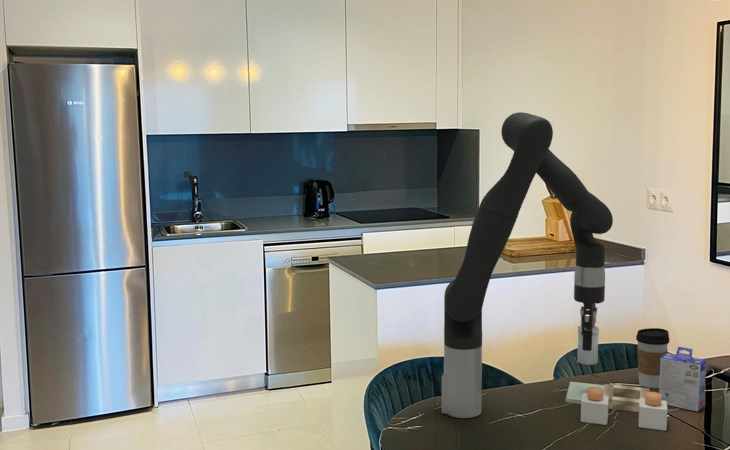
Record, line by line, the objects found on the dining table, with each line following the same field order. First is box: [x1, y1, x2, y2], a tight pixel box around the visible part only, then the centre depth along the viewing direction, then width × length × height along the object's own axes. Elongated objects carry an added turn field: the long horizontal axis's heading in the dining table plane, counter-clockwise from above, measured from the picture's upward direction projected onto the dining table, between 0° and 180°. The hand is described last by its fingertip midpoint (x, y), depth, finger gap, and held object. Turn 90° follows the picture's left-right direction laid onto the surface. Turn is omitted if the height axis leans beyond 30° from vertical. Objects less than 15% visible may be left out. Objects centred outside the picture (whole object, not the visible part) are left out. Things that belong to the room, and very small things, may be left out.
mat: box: [565, 381, 605, 405], centre depth 193 cm, size 9×13×1 cm
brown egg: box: [645, 391, 662, 406], centre depth 174 cm, size 4×4×6 cm
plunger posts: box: [580, 393, 668, 431], centre depth 176 cm, size 19×7×5 cm, turn 70°
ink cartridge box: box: [658, 346, 707, 412], centre depth 185 cm, size 10×6×14 cm, turn 53°
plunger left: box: [587, 387, 603, 400], centre depth 177 cm, size 4×4×6 cm
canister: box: [577, 325, 600, 366], centre depth 191 cm, size 5×5×10 cm
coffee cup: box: [635, 327, 670, 389], centre depth 199 cm, size 8×8×15 cm
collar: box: [603, 383, 651, 413], centre depth 187 cm, size 11×11×2 cm
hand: (587, 346), depth 191 cm, fingers closed on canister, 5 cm apart
